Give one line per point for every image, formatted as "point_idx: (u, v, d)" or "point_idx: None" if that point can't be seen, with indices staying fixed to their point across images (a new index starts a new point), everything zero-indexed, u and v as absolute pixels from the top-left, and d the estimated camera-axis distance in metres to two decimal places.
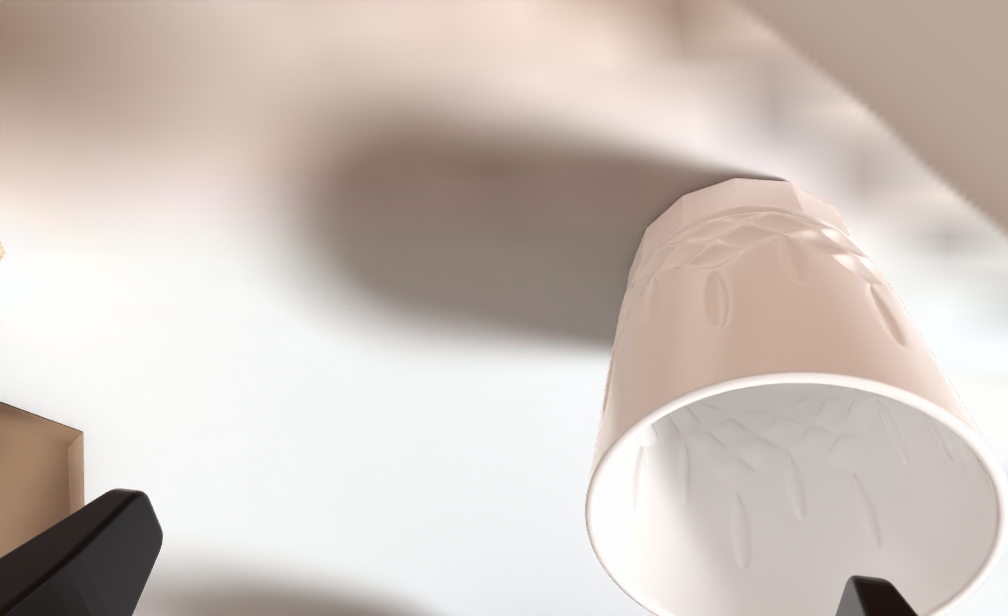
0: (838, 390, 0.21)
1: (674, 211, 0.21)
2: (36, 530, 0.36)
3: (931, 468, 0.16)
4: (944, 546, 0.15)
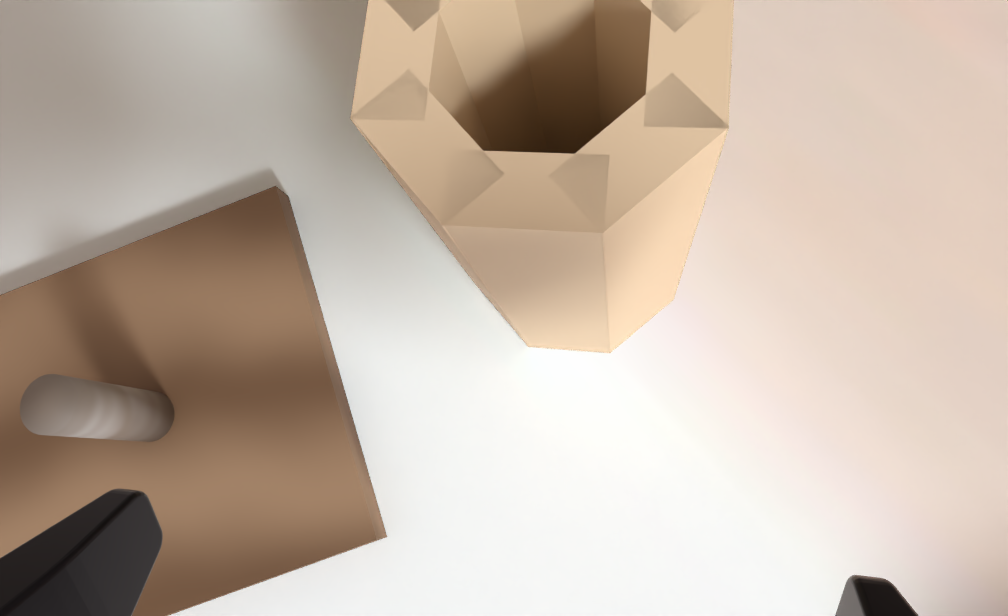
0: None
1: None
2: None
3: None
4: None
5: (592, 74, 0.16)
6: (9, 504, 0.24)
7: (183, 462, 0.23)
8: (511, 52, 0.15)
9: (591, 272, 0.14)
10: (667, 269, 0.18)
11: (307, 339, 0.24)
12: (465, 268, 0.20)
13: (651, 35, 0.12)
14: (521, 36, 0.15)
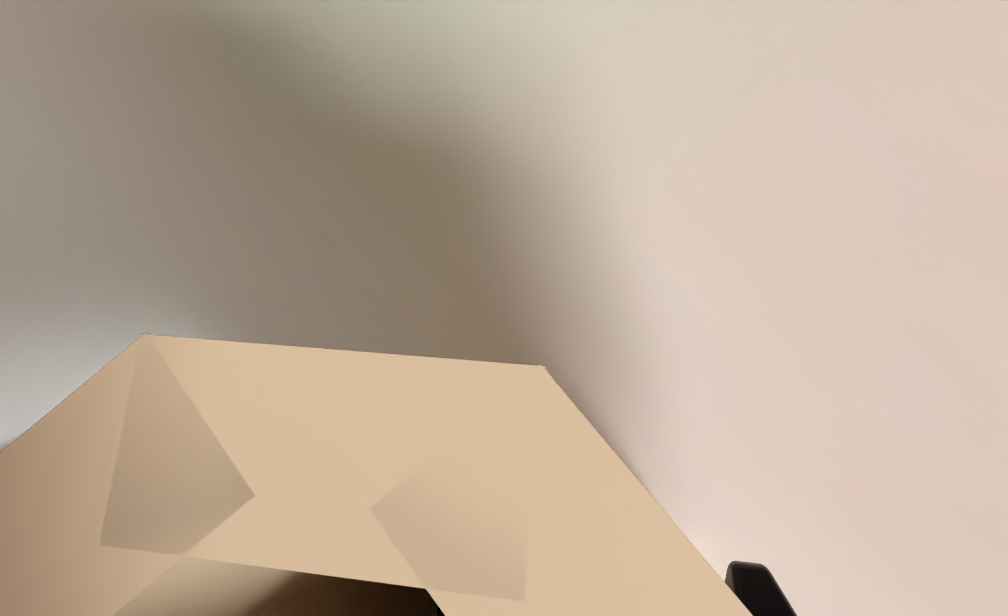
0: None
1: None
2: None
3: None
4: None
5: None
6: None
7: None
8: None
9: None
10: None
11: None
12: None
13: None
14: None
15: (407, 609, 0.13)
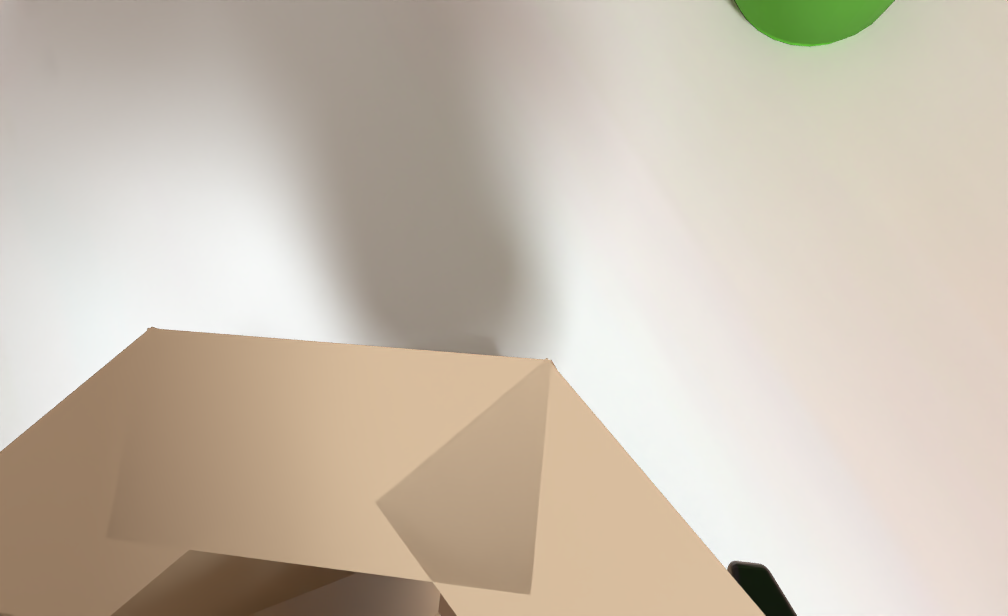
0: None
1: None
2: None
3: None
4: None
5: None
6: None
7: None
8: None
9: None
10: None
11: None
12: None
13: None
14: None
15: (409, 607, 0.13)
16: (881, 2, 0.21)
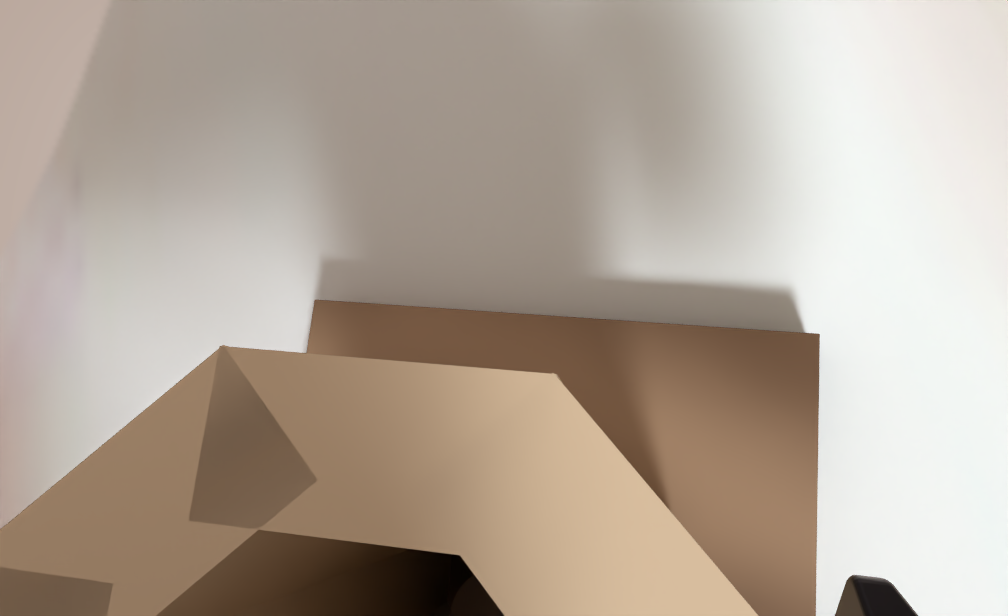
0: None
1: None
2: None
3: None
4: None
5: None
6: None
7: None
8: None
9: None
10: None
11: (797, 587, 0.16)
12: None
13: None
14: None
15: (421, 595, 0.14)
16: None
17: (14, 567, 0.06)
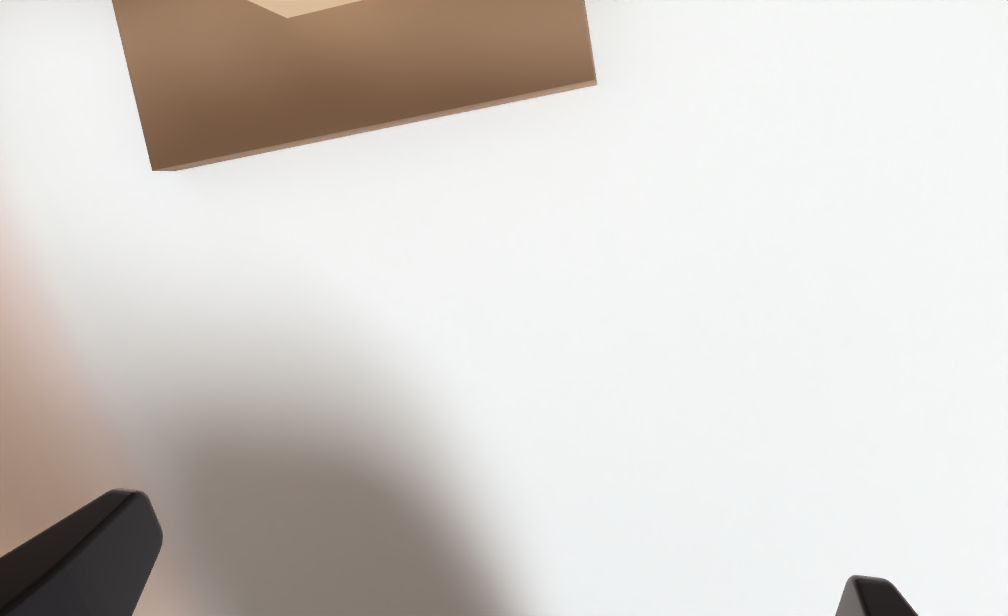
0: None
1: None
2: (313, 65, 0.19)
3: None
4: None
5: None
6: None
7: None
8: None
9: None
10: None
11: None
12: None
13: None
14: None
15: None
16: None
17: None
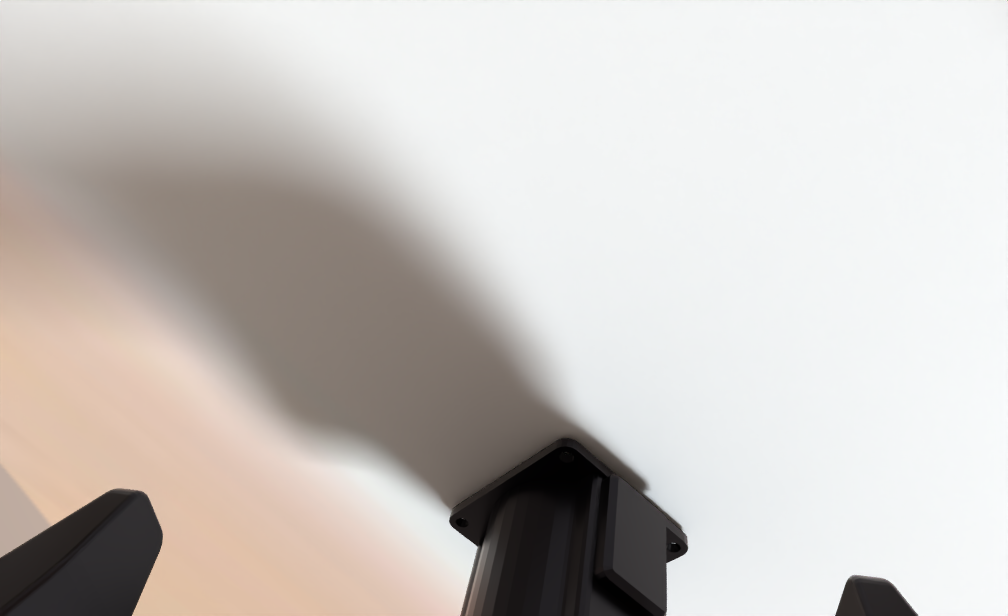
0: None
1: None
2: None
3: None
4: None
5: None
6: None
7: None
8: None
9: None
10: None
11: None
12: None
13: None
14: None
15: None
16: None
17: None
